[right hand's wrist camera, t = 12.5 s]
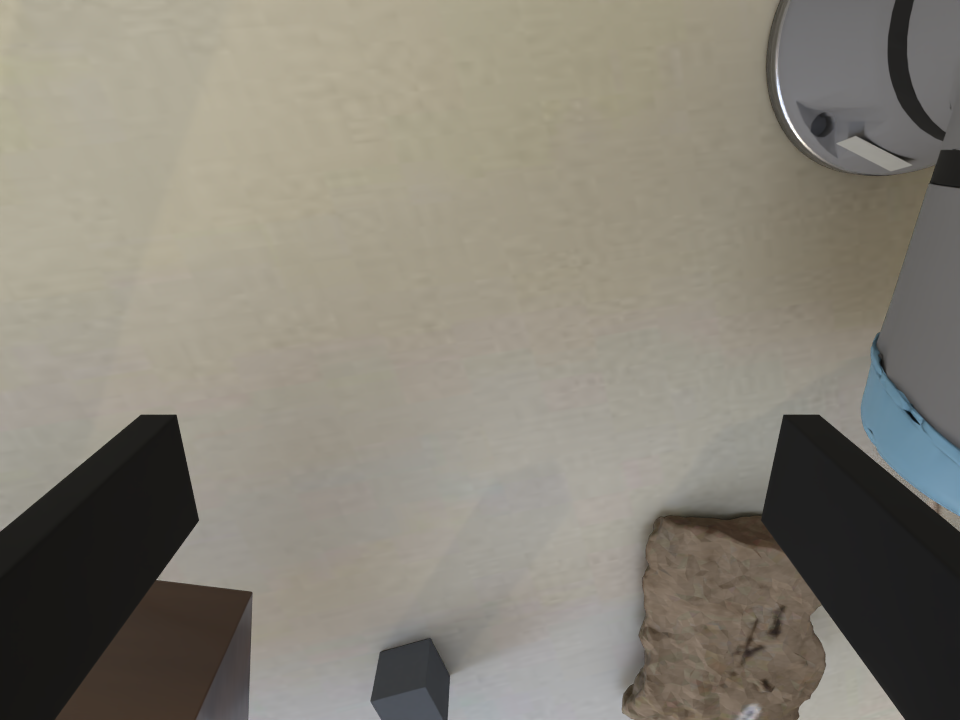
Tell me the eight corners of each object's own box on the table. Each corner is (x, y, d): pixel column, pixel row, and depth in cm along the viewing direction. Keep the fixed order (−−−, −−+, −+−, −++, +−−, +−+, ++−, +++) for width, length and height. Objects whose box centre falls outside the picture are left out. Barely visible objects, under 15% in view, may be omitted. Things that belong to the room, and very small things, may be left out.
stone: (788, 731, 52) (810, 792, 46) (620, 696, 55) (620, 748, 49) (831, 516, 48) (861, 553, 42) (645, 490, 51) (649, 521, 45)
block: (430, 637, 53) (425, 686, 48) (450, 675, 54) (447, 726, 50) (379, 651, 53) (370, 701, 49) (400, 689, 55) (393, 740, 50)
